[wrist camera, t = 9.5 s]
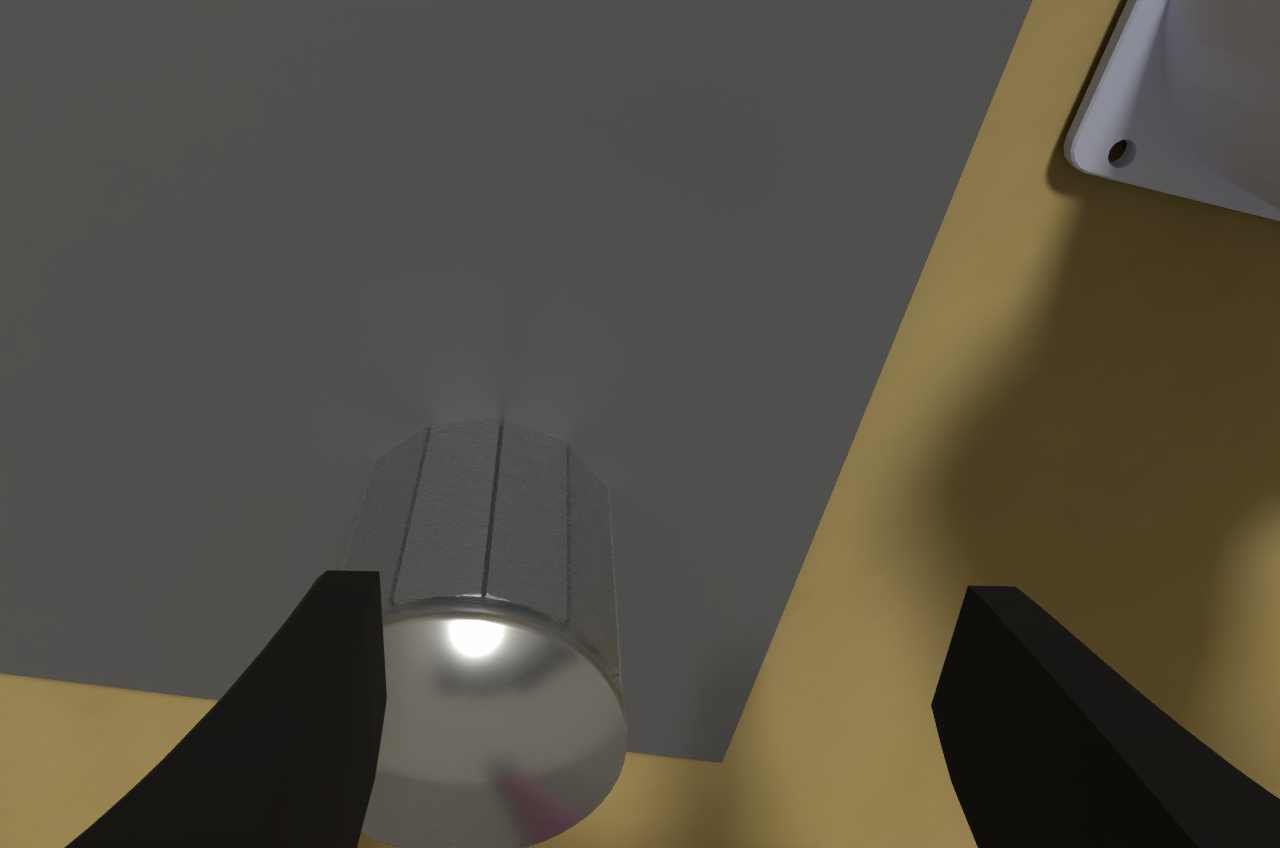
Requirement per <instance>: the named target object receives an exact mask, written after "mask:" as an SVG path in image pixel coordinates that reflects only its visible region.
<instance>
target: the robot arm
mask: <svg viewBox="0 0 1280 848" xmlns="http://www.w3.org/2000/svg"><path fill="white" fill-rule="evenodd" d="M1121 140H1126V143H1127V145H1126V150H1125V152H1124V153H1123V155H1122V156H1121V157H1120V158H1119V159H1117V160H1115V161H1113V162H1109V160H1108V155H1109V151H1110V149H1111V148H1112V147H1113V145H1114V144H1115V143H1117V142H1119V141H1121ZM1063 148H1064V155H1065V158H1066V159H1067V161H1068V162H1069V164H1070V165H1072V166H1073V167H1075V168H1076V169H1078V170H1080V171H1082V172H1084V173H1087V174H1091V175H1095V176H1099V177H1103V178H1107V179H1111V180H1115V181H1119V182H1123V183H1127V184H1131V185H1135V186H1139V187H1143V188H1147V189H1151V190H1155V191H1159V192H1163V193H1168V194H1172V195H1176V196H1180V197H1184V198H1188V199H1192V200H1196V201H1200V202H1204V203H1208V204H1212V205H1216V206H1220V207H1224V208H1228V209H1232V210H1236V211H1240V212H1244V213H1249V214H1253V215H1257V216H1261V217H1265V218H1269V219H1273V220H1277V221H1280V0H1127V2H1126V5H1125V7H1124V9H1123V11H1122V14H1121V16H1120V18H1119V20H1118V22H1117V25H1116V27H1115V29H1114V31H1113V34H1112V36H1111V38H1110V40H1109V42H1108V45H1107V47H1106V49H1105V51H1104V54H1103V56H1102V58H1101V60H1100V62H1099V65H1098V67H1097V69H1096V71H1095V74H1094V76H1093V78H1092V80H1091V82H1090V85H1089V87H1088V89H1087V91H1086V94H1085V96H1084V98H1083V100H1082V102H1081V105H1080V107H1079V109H1078V111H1077V114H1076V116H1075V118H1074V120H1073V122H1072V125H1071V127H1070V129H1069V131H1068V134H1067V136H1066V139H1065V143H1064V147H1063ZM386 702H387V690H386V673H385V656H384V639H383V622H382V605H381V588H380V571H341V570H327V571H325V572H324V573H323V574H322V575H320V576H319V577H318V578H317V579H316V581H315V582H314V584H313V585H312V586H311V588H310V589H309V591H308V592H307V593H306V595H305V596H304V597H303V599H302V600H301V601H300V603H299V604H298V605H297V607H296V608H295V609H294V611H293V612H292V613H291V615H290V616H289V617H288V619H287V620H286V621H285V622H284V624H283V625H282V626H281V628H280V629H279V630H278V631H277V633H276V634H275V635H274V636H273V638H272V639H271V640H270V641H269V643H268V644H267V645H266V646H265V648H264V649H263V650H262V651H261V652H260V654H259V655H258V656H257V657H256V658H255V659H254V661H253V662H252V663H251V664H250V665H249V666H248V668H247V669H246V670H245V671H244V672H243V673H242V675H241V676H240V677H239V678H238V679H237V680H236V682H235V683H234V684H233V685H232V686H231V687H230V689H229V690H228V691H227V692H226V693H225V694H224V696H223V697H222V698H221V699H220V700H219V701H218V702H217V703H216V704H215V706H214V707H213V708H212V709H211V710H210V711H209V712H208V713H207V714H206V715H205V716H204V717H203V718H202V719H201V720H200V721H199V722H198V723H197V724H196V725H195V727H194V728H193V729H192V730H191V731H190V732H189V733H188V734H187V735H186V736H185V737H184V738H183V739H182V740H181V741H180V742H179V743H178V744H177V745H176V746H175V748H174V749H173V750H172V751H171V752H170V753H169V754H168V755H167V756H166V757H165V758H164V759H163V760H162V761H161V762H160V763H159V764H158V765H157V766H156V767H155V768H153V769H152V770H151V771H150V772H149V773H148V774H147V775H146V776H145V777H144V778H143V779H142V780H141V781H140V782H139V783H138V784H137V785H136V786H135V787H134V788H132V789H131V790H130V791H129V792H128V793H127V794H126V795H125V796H124V797H123V798H122V799H120V800H119V801H118V802H117V803H116V804H115V805H114V806H113V807H112V808H110V809H109V810H108V811H107V812H106V813H105V814H104V815H103V816H101V817H100V818H99V819H98V820H97V821H96V822H95V823H94V824H92V825H91V826H90V827H89V828H88V829H87V830H85V831H84V832H83V833H82V834H81V835H79V836H78V837H77V838H76V839H74V840H73V841H72V842H71V843H70V844H68V845H67V846H66V847H65V848H357V845H358V841H359V838H360V834H361V830H362V826H363V823H364V819H365V815H366V811H367V807H368V804H369V800H370V796H371V792H372V788H373V785H374V781H375V776H376V769H377V763H378V757H379V750H380V744H381V737H382V730H383V723H384V716H385V709H386ZM931 706H932V710H933V714H934V718H935V722H936V726H937V730H938V734H939V738H940V742H941V746H942V750H943V754H944V757H945V761H946V764H947V768H948V771H949V775H950V778H951V782H952V784H953V787H954V789H955V792H956V794H957V797H958V800H959V802H960V804H961V807H962V809H963V812H964V814H965V817H966V819H967V822H968V824H969V827H970V829H971V832H972V834H973V836H974V839H975V841H976V844H977V846H978V848H1280V799H1279V798H1277V797H1276V796H1274V795H1273V794H1271V793H1270V792H1268V791H1267V790H1266V789H1264V788H1263V787H1261V786H1260V785H1259V784H1257V783H1256V782H1254V781H1253V780H1252V779H1250V778H1249V777H1247V776H1246V775H1245V774H1243V773H1242V772H1241V771H1239V770H1238V769H1236V768H1235V767H1234V766H1233V765H1231V764H1230V763H1229V762H1227V761H1226V760H1225V759H1223V758H1222V757H1221V756H1219V755H1218V754H1217V753H1215V752H1214V751H1213V750H1212V749H1210V748H1209V747H1208V746H1206V745H1205V744H1204V743H1202V742H1201V741H1200V740H1198V739H1197V738H1196V737H1195V736H1193V735H1192V734H1191V733H1189V732H1188V731H1187V730H1186V729H1184V728H1183V727H1182V726H1181V725H1179V724H1178V723H1177V722H1176V721H1174V720H1173V719H1172V718H1171V717H1169V716H1168V715H1167V714H1166V713H1164V712H1163V711H1162V710H1161V709H1159V708H1158V707H1157V706H1156V705H1155V704H1153V703H1152V702H1151V701H1150V700H1149V699H1147V698H1146V697H1145V696H1144V695H1143V694H1141V693H1140V692H1139V691H1138V690H1137V689H1135V688H1134V687H1133V686H1132V685H1131V684H1129V683H1128V682H1127V681H1126V680H1125V679H1124V678H1122V677H1121V676H1120V675H1119V674H1118V673H1117V672H1115V671H1114V670H1113V669H1112V668H1111V667H1110V666H1108V665H1107V664H1106V663H1105V662H1104V661H1103V660H1101V659H1100V658H1099V657H1098V656H1097V655H1096V654H1094V653H1093V652H1092V651H1091V650H1090V649H1089V648H1088V647H1086V646H1085V645H1084V644H1083V643H1082V642H1081V641H1079V640H1078V639H1077V638H1076V637H1075V636H1074V635H1073V634H1071V633H1070V632H1069V631H1068V630H1067V629H1066V628H1064V627H1063V626H1062V625H1061V624H1060V623H1059V622H1058V621H1056V620H1055V619H1054V618H1053V617H1052V616H1051V615H1049V614H1048V613H1047V612H1046V611H1045V610H1043V609H1042V608H1041V607H1040V606H1039V605H1038V604H1036V603H1035V602H1034V601H1033V600H1031V599H1030V598H1029V597H1028V596H1026V595H1025V594H1024V593H1023V592H1021V591H1020V590H1019V589H1018V588H1016V587H1005V586H968V588H967V591H966V594H965V598H964V601H963V604H962V607H961V610H960V614H959V617H958V620H957V623H956V627H955V630H954V633H953V636H952V640H951V643H950V646H949V649H948V652H947V656H946V659H945V662H944V665H943V669H942V672H941V675H940V678H939V682H938V685H937V688H936V691H935V695H934V698H933V701H932V704H931Z"/></svg>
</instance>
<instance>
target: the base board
mask: <svg viewBox="0 0 1280 848" xmlns="http://www.w3.org/2000/svg"><path fill="white" fill-rule="evenodd" d="M1031 2H1032V0H0V673H6V674H14V675H22V676H30V677H38V678H46V679H54V680H62V681H70V682H78V683H86V684H94V685H102V686H110V687H118V688H126V689H134V690H142V691H150V692H158V693H166V694H174V695H182V696H190V697H198V698H206V699H214V700H220V699H221V698H222V697H223V696H224V694H225V693H226V692H227V691H228V690H229V689H230V687H231V686H232V685H233V684H234V683H235V682H236V680H237V679H238V678H239V677H240V676H241V675H242V673H243V672H244V671H245V670H246V669H247V668H248V666H249V665H250V664H251V663H252V662H253V661H254V659H255V658H256V657H257V656H258V655H259V654H260V652H261V651H262V650H263V649H264V648H265V646H266V645H267V644H268V643H269V641H270V640H271V639H272V638H273V636H274V635H275V634H276V633H277V631H278V630H279V629H280V628H281V626H282V625H283V624H284V622H285V621H286V620H287V619H288V617H289V616H290V615H291V613H292V612H293V611H294V609H295V608H296V607H297V605H298V604H299V603H300V601H301V600H302V599H303V597H304V596H305V595H306V593H307V592H308V591H309V589H310V588H311V586H312V585H313V584H314V582H315V581H316V579H317V578H318V577H319V576H320V575H322V574H323V573H324V572H325V571H327V570H335V568H336V565H337V562H338V559H339V556H340V552H341V549H342V546H343V543H344V539H345V536H346V533H347V530H348V526H349V523H350V520H351V517H352V513H353V511H354V508H355V506H356V504H357V501H358V499H359V497H360V494H361V492H362V489H363V487H364V485H365V482H366V480H367V478H368V475H369V473H370V470H371V468H372V466H373V463H374V462H376V459H378V458H379V457H381V456H382V455H384V454H385V453H387V452H388V451H390V450H391V449H393V448H395V447H396V446H398V445H399V444H401V443H402V442H404V441H405V440H407V439H408V438H410V437H411V436H413V435H414V434H416V433H418V432H419V431H421V430H422V429H424V428H425V427H427V426H428V425H429V426H430V428H432V424H438V423H449V422H460V421H471V420H482V419H493V418H500V419H501V425H502V422H503V420H504V418H505V419H507V420H510V421H513V422H515V423H518V424H520V425H523V426H526V427H528V428H531V429H534V430H536V431H539V432H542V433H544V434H547V435H550V436H552V437H555V438H558V439H560V440H563V441H566V442H567V446H568V445H569V444H570V445H571V446H572V447H573V448H574V450H575V451H576V452H577V453H578V454H579V455H580V457H581V458H582V459H583V460H584V461H585V462H586V464H587V465H588V466H589V467H590V468H591V469H592V471H593V472H594V473H595V474H596V475H597V477H598V478H599V479H600V480H601V481H602V482H603V484H604V485H605V486H606V487H607V488H608V492H609V494H610V504H611V514H612V524H613V534H614V544H615V558H616V573H617V588H618V602H619V617H620V631H621V646H622V661H623V675H624V690H625V704H626V719H627V734H626V736H627V737H626V745H627V748H626V751H631V752H639V753H647V754H655V755H663V756H671V757H679V758H687V759H695V760H703V761H711V762H719V763H722V761H723V758H724V756H725V754H726V751H727V749H728V746H729V744H730V741H731V739H732V736H733V734H734V731H735V729H736V726H737V724H738V722H739V719H740V717H741V714H742V712H743V709H744V707H745V704H746V702H747V699H748V697H749V695H750V692H751V690H752V687H753V685H754V682H755V680H756V677H757V675H758V672H759V670H760V668H761V665H762V663H763V660H764V658H765V655H766V653H767V650H768V648H769V645H770V643H771V641H772V638H773V636H774V633H775V631H776V628H777V626H778V623H779V621H780V618H781V616H782V614H783V611H784V609H785V606H786V604H787V601H788V599H789V596H790V594H791V591H792V589H793V587H794V584H795V582H796V579H797V577H798V574H799V572H800V569H801V567H802V564H803V562H804V560H805V557H806V555H807V552H808V550H809V547H810V545H811V542H812V540H813V537H814V535H815V533H816V530H817V528H818V525H819V523H820V520H821V518H822V515H823V513H824V510H825V508H826V506H827V503H828V501H829V498H830V496H831V493H832V491H833V488H834V486H835V483H836V481H837V479H838V476H839V474H840V471H841V469H842V466H843V464H844V461H845V459H846V456H847V454H848V452H849V449H850V447H851V444H852V442H853V439H854V437H855V434H856V432H857V429H858V427H859V425H860V422H861V420H862V417H863V415H864V412H865V410H866V407H867V405H868V402H869V400H870V398H871V395H872V393H873V390H874V388H875V385H876V383H877V380H878V378H879V375H880V373H881V371H882V368H883V366H884V363H885V361H886V358H887V356H888V353H889V351H890V348H891V346H892V344H893V341H894V339H895V336H896V334H897V331H898V329H899V326H900V324H901V321H902V319H903V316H904V314H905V312H906V309H907V307H908V304H909V302H910V299H911V297H912V294H913V292H914V289H915V287H916V285H917V282H918V280H919V277H920V275H921V272H922V270H923V267H924V265H925V262H926V260H927V258H928V255H929V253H930V250H931V248H932V245H933V243H934V240H935V238H936V235H937V233H938V231H939V228H940V226H941V223H942V221H943V218H944V216H945V213H946V211H947V208H948V206H949V204H950V201H951V199H952V196H953V194H954V191H955V189H956V186H957V184H958V181H959V179H960V177H961V174H962V172H963V169H964V167H965V164H966V162H967V159H968V157H969V154H970V152H971V150H972V147H973V145H974V142H975V140H976V137H977V135H978V132H979V130H980V127H981V125H982V123H983V120H984V118H985V115H986V113H987V110H988V108H989V105H990V103H991V100H992V98H993V96H994V93H995V91H996V88H997V86H998V83H999V81H1000V78H1001V76H1002V73H1003V71H1004V69H1005V66H1006V64H1007V61H1008V59H1009V56H1010V54H1011V51H1012V49H1013V46H1014V44H1015V42H1016V39H1017V37H1018V34H1019V32H1020V29H1021V27H1022V24H1023V22H1024V19H1025V17H1026V15H1027V12H1028V10H1029V7H1030V5H1031Z"/></svg>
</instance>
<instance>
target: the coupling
mask: <svg viewBox="0 0 1280 848" xmlns="http://www.w3.org/2000/svg"><path fill="white" fill-rule="evenodd" d="M335 570H341V571H380V588H381V605H382V622H383V639H384V656H385V673H386V690H387V702H386V709H385V716H384V723H383V730H382V737H381V744H380V750H379V757H378V763H377V769H376V776H375V781H374V785H373V788H372V792H371V796H370V800H369V804H368V807H367V811H366V815H365V819H364V823H363V826H362V830H361V833H362V834H364V835H366V836H368V837H370V838H373V839H375V840H378V841H380V842H383V843H385V844H388V845H392V846H395V847H399V848H525V847H528V846H531V845H534V844H537V843H540V842H543V841H545V840H547V839H550V838H552V837H554V836H556V835H559V834H561V833H562V832H564V831H566V830H567V829H569V828H571V827H573V826H574V825H576V824H577V823H579V822H580V821H581V820H583V819H584V818H585V817H587V816H588V815H589V814H590V813H591V812H592V811H593V810H594V809H595V808H597V807H598V806H599V805H600V804H601V803H602V801H603V800H604V799H605V798H606V796H607V795H608V794H609V792H610V791H611V790H612V788H613V786H614V784H615V783H616V781H617V779H618V777H619V775H620V772H621V769H622V767H623V764H624V759H625V754H626V748H627V745H626V737H627V736H626V734H627V719H626V704H625V690H624V675H623V661H622V646H621V631H620V617H619V602H618V588H617V573H616V558H615V544H614V534H613V524H612V514H611V504H610V494H609V492H608V488H607V487H606V486H605V485H604V484H603V482H602V481H601V480H600V479H599V478H598V477H597V475H596V474H595V473H594V472H593V471H592V469H591V468H590V467H589V466H588V465H587V464H586V462H585V461H584V460H583V459H582V458H581V457H580V455H579V454H578V453H577V452H576V451H575V450H574V448H573V447H572V446H571V445H570V444H569V445H568V446H567V442H566V441H563V440H560V439H558V438H555V437H552V436H550V435H547V434H544V433H542V432H539V431H536V430H534V429H531V428H528V427H526V426H523V425H520V424H518V423H515V422H513V421H510V420H507V419H505V418H504V420H503V422H502V425H501V419H500V418H493V419H482V420H471V421H460V422H449V423H438V424H432V428H430V426H429V425H428V426H427V427H425V428H424V429H422V430H421V431H419V432H418V433H416V434H414V435H413V436H411V437H410V438H408V439H407V440H405V441H404V442H402V443H401V444H399V445H398V446H396V447H395V448H393V449H391V450H390V451H388V452H387V453H385V454H384V455H382V456H381V457H379V458H378V459H376V462H374V463H373V466H372V468H371V470H370V473H369V475H368V478H367V480H366V482H365V485H364V487H363V489H362V492H361V494H360V497H359V499H358V501H357V504H356V506H355V508H354V511H353V513H352V517H351V520H350V523H349V526H348V530H347V533H346V536H345V539H344V543H343V546H342V549H341V552H340V556H339V559H338V562H337V565H336V568H335Z"/></svg>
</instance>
